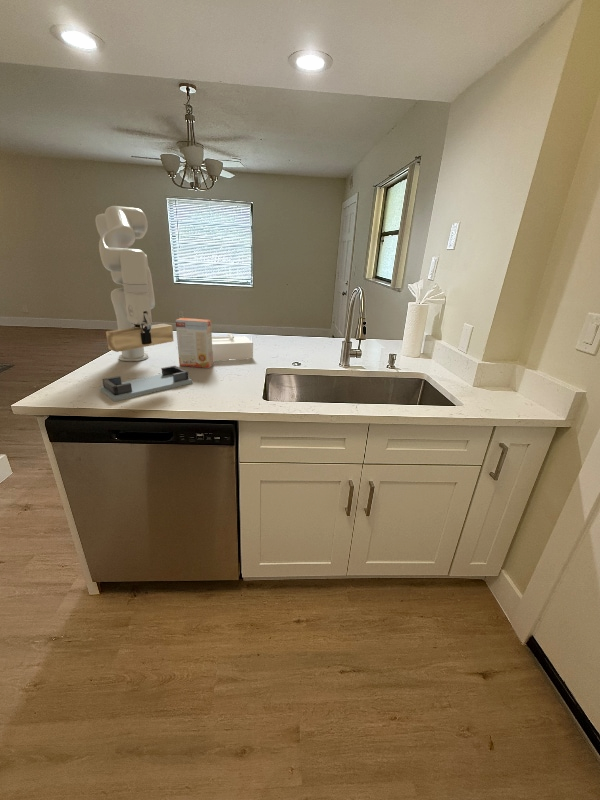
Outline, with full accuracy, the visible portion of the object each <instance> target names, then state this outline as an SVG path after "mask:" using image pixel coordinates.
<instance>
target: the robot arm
mask: <svg viewBox="0 0 600 800" xmlns="http://www.w3.org/2000/svg"><path fill="white" fill-rule="evenodd" d="M94 221H95V227H96V230H97V232H98V235H99V242H98V249H99V255H100V260H101V262H102V265H103V267H104V268H105V269H106V270H107V271H109V272H110V276H111V279H112V281H113V282H114V283H115V284H117V285H122V286H123V287H119V288H118V287H117V288H114V289H113V290H111V292H110V300H111V302H112V306H113V310H114V313H115V317H116V324H117V330H120V329H128V328H135V327H140V328H141V331H142V333H141V340H142V344H143V345H144V344H151V343H152V341H151V330H150V329H151V326H152V325H153V324H152V320H153V319H152V312H151V311H152V309H154V308H155V306H156V301H155V300H156V299H155V292H154V285H153V278H152V271H151V269H150V267H149V261H148V256H147V254H146V253H145V252H144V251H143V250H141V249H139V248H130V247H131V246H133V245H134V243H135V241H136V240H141V239H143V238H144V237H145V235H146V233H147V232H148V225H149V223H148V219H147V216H146V213H145V212H144V211H143V210H142V209H140V208H137V207H129V206H121V205H120V206H119V205H111V206H109V207H107V208H106V209H105V211H104V213H100V214H97V215H96V216H95V220H94ZM143 326H145V327H144V328H143ZM148 358H149V354H148V353H146V352H145V347H141V348H136V349H130V350H125V351H121V354H120V355H118V359H119V361H122V362H141V361H144V360H145V361H146V360H147V359H148Z"/></svg>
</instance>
